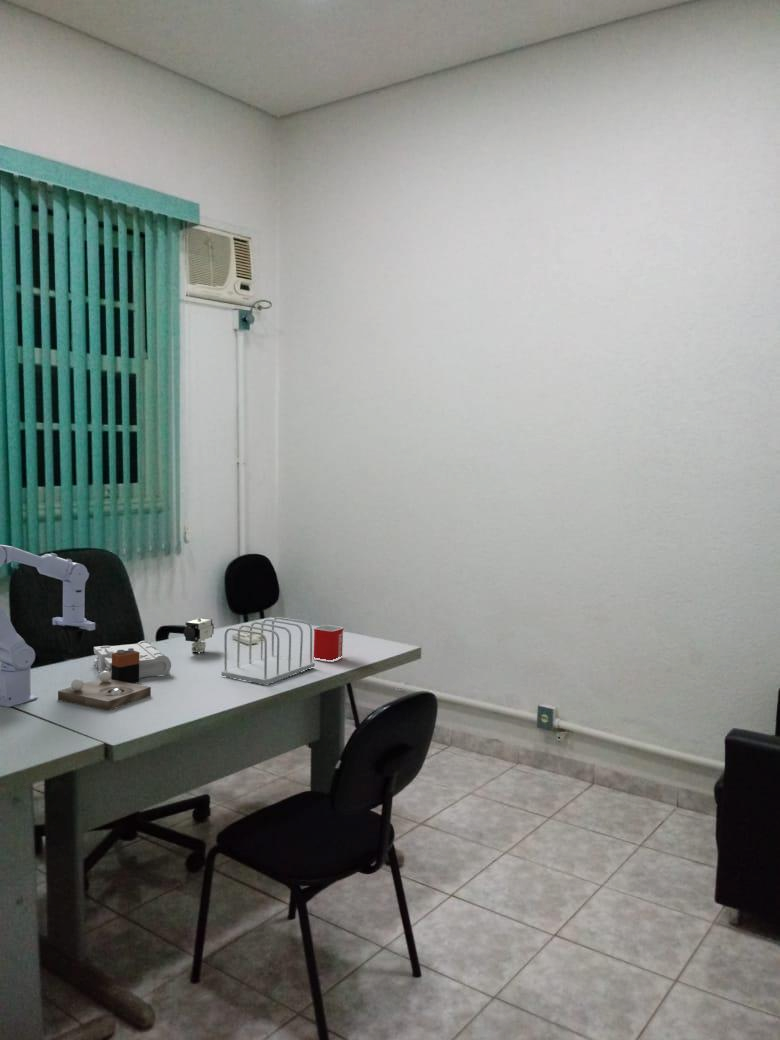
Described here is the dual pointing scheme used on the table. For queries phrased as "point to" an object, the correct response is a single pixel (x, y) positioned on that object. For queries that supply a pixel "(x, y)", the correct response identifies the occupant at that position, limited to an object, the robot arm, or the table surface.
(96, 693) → the hole plate
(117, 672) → the battery
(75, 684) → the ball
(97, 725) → the table surface
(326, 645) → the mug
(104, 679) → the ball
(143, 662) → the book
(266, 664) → the file sorter
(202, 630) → the pneumatic valve
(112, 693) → the steel ball
